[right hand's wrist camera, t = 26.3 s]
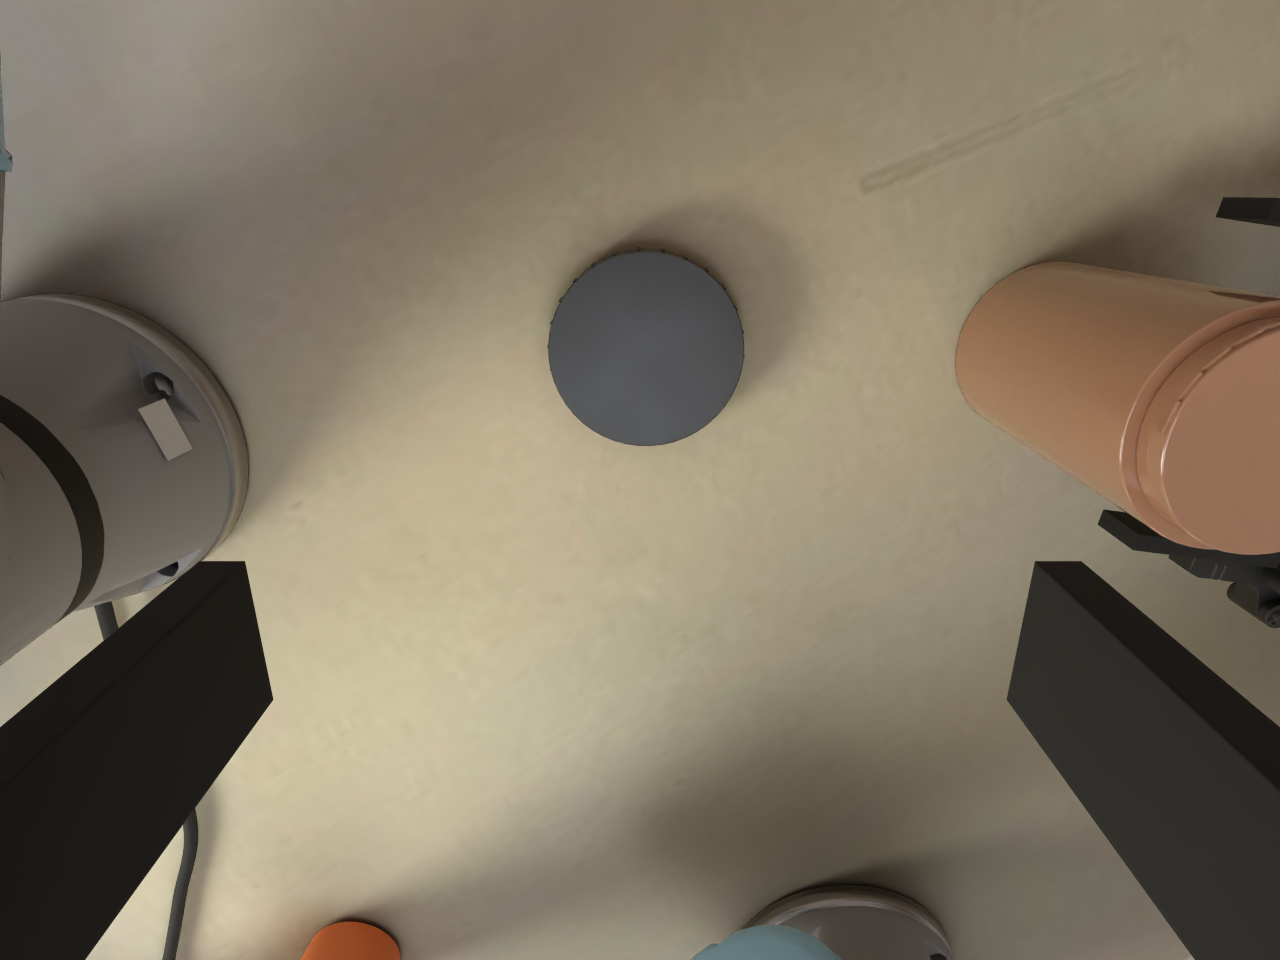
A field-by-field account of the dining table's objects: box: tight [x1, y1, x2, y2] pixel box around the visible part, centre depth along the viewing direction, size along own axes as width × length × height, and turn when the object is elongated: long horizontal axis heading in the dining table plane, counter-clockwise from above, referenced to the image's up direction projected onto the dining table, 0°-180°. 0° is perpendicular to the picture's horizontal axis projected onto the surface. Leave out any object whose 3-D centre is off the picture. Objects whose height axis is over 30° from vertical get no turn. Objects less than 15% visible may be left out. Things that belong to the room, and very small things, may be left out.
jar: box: [956, 261, 1280, 555], centre depth 30 cm, size 8×8×15 cm
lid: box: [548, 247, 744, 446], centre depth 37 cm, size 9×9×2 cm
